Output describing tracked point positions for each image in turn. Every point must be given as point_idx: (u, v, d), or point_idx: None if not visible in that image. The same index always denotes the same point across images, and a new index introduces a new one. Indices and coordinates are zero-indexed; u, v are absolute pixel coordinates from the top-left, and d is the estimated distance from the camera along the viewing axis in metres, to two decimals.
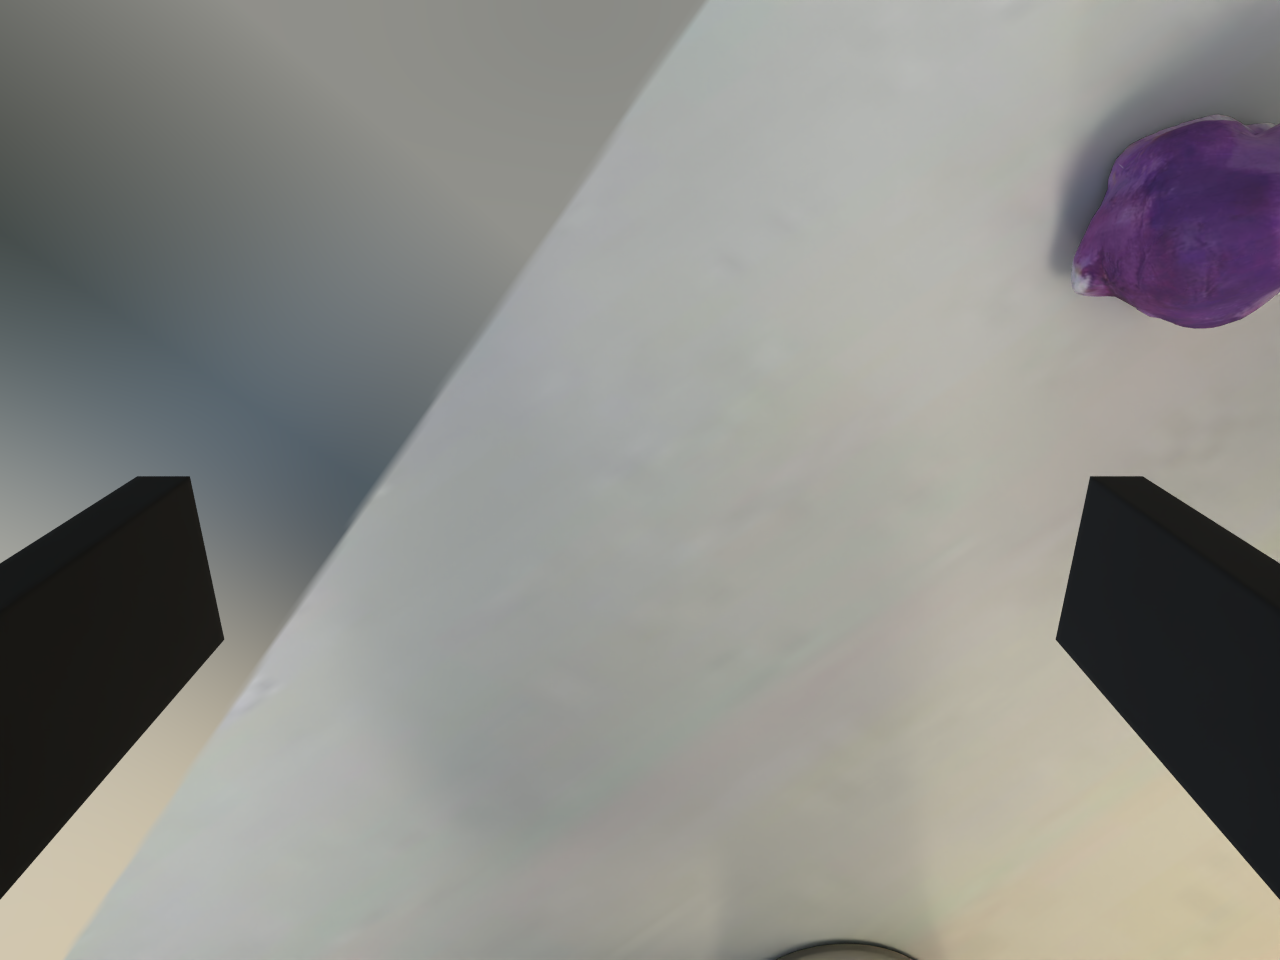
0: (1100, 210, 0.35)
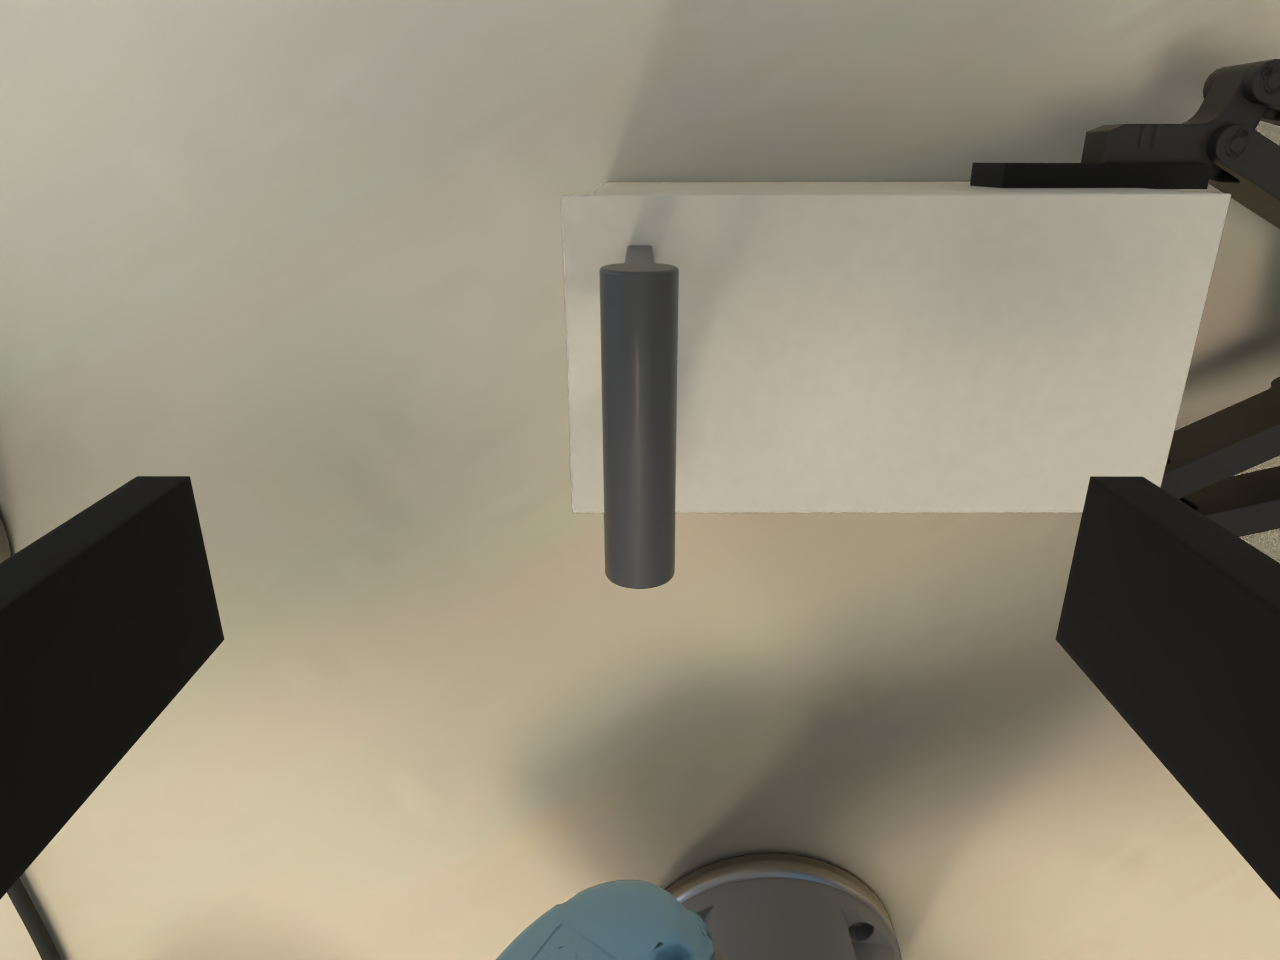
0: None
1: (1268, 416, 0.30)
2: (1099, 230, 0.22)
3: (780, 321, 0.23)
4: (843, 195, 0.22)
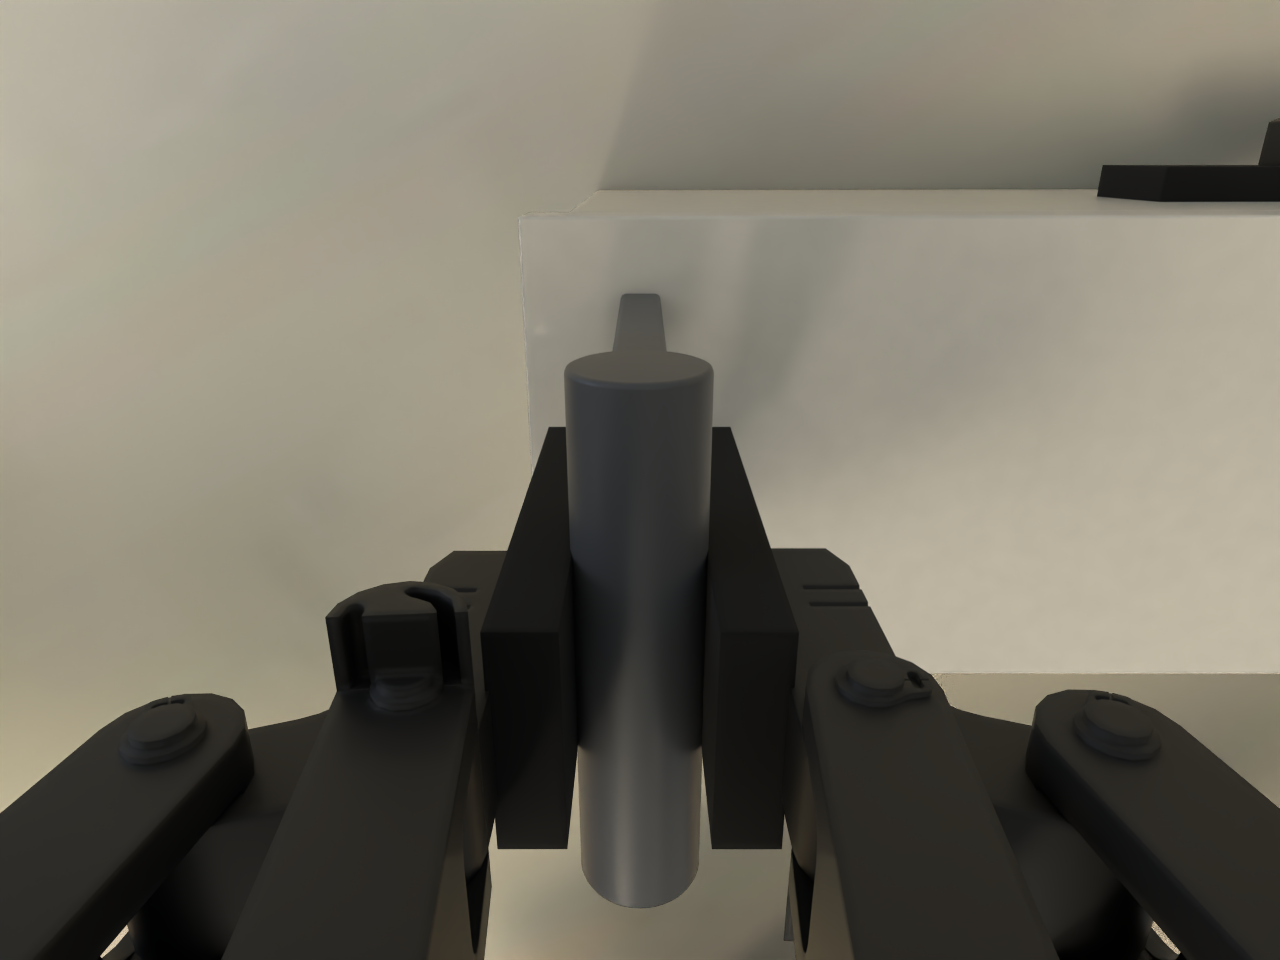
0: None
1: None
2: None
3: (853, 406, 0.15)
4: (957, 217, 0.14)
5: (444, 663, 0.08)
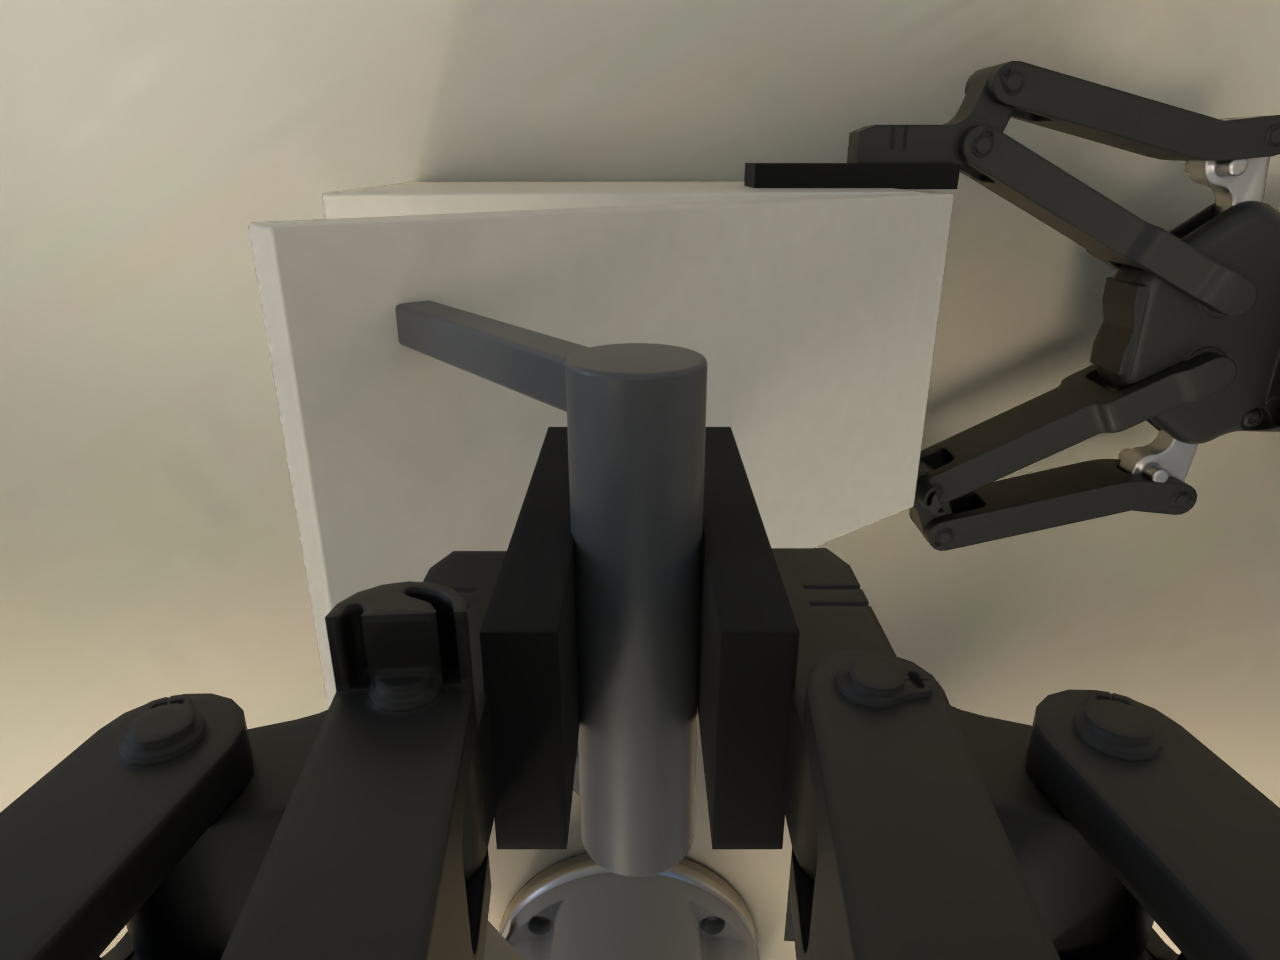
0: None
1: (1047, 414, 0.30)
2: (874, 236, 0.21)
3: None
4: (660, 209, 0.17)
5: (444, 663, 0.08)
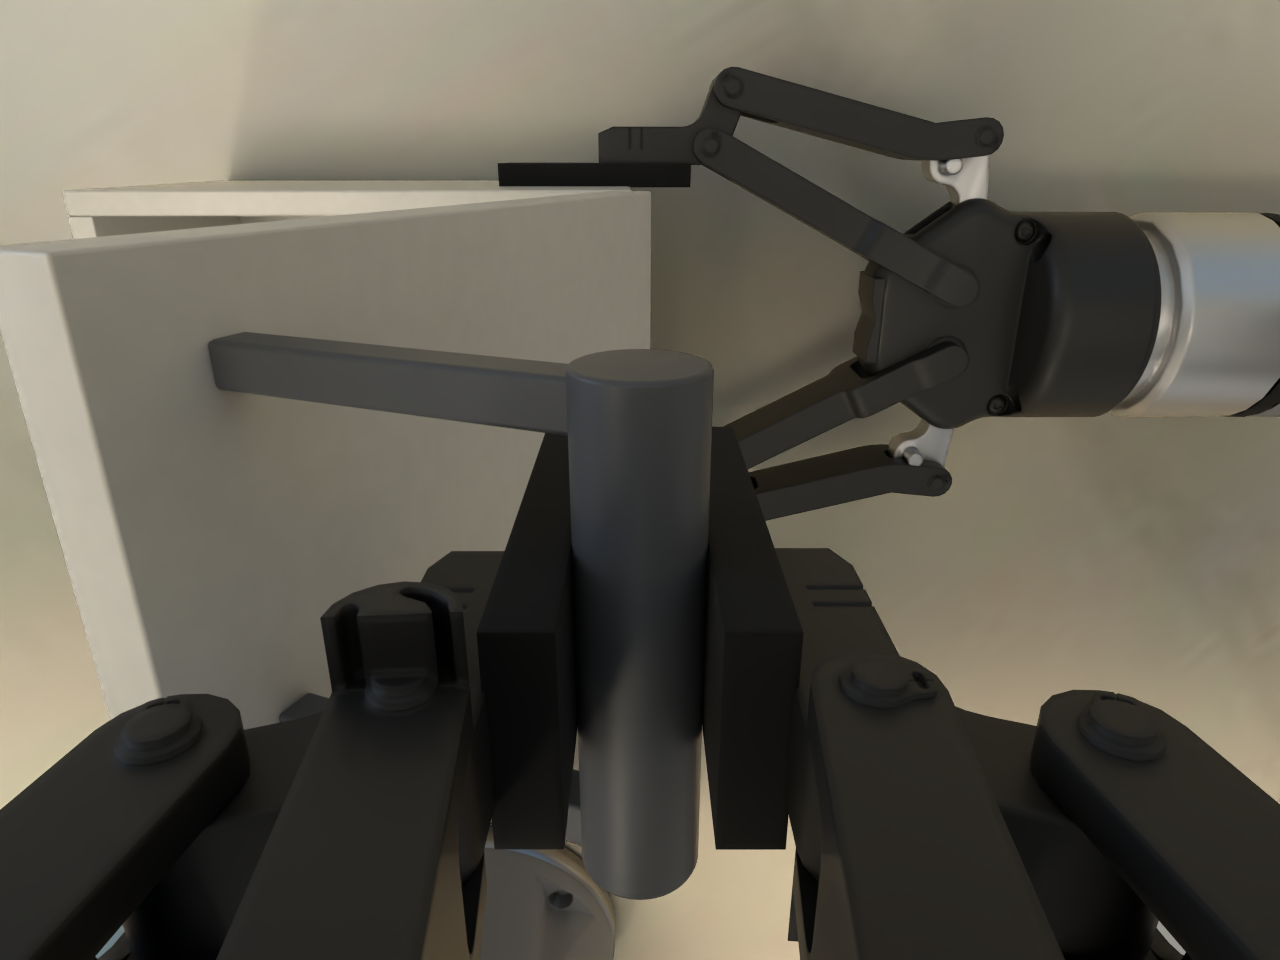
0: None
1: (806, 401, 0.32)
2: (604, 233, 0.22)
3: None
4: (446, 213, 0.16)
5: (440, 663, 0.08)
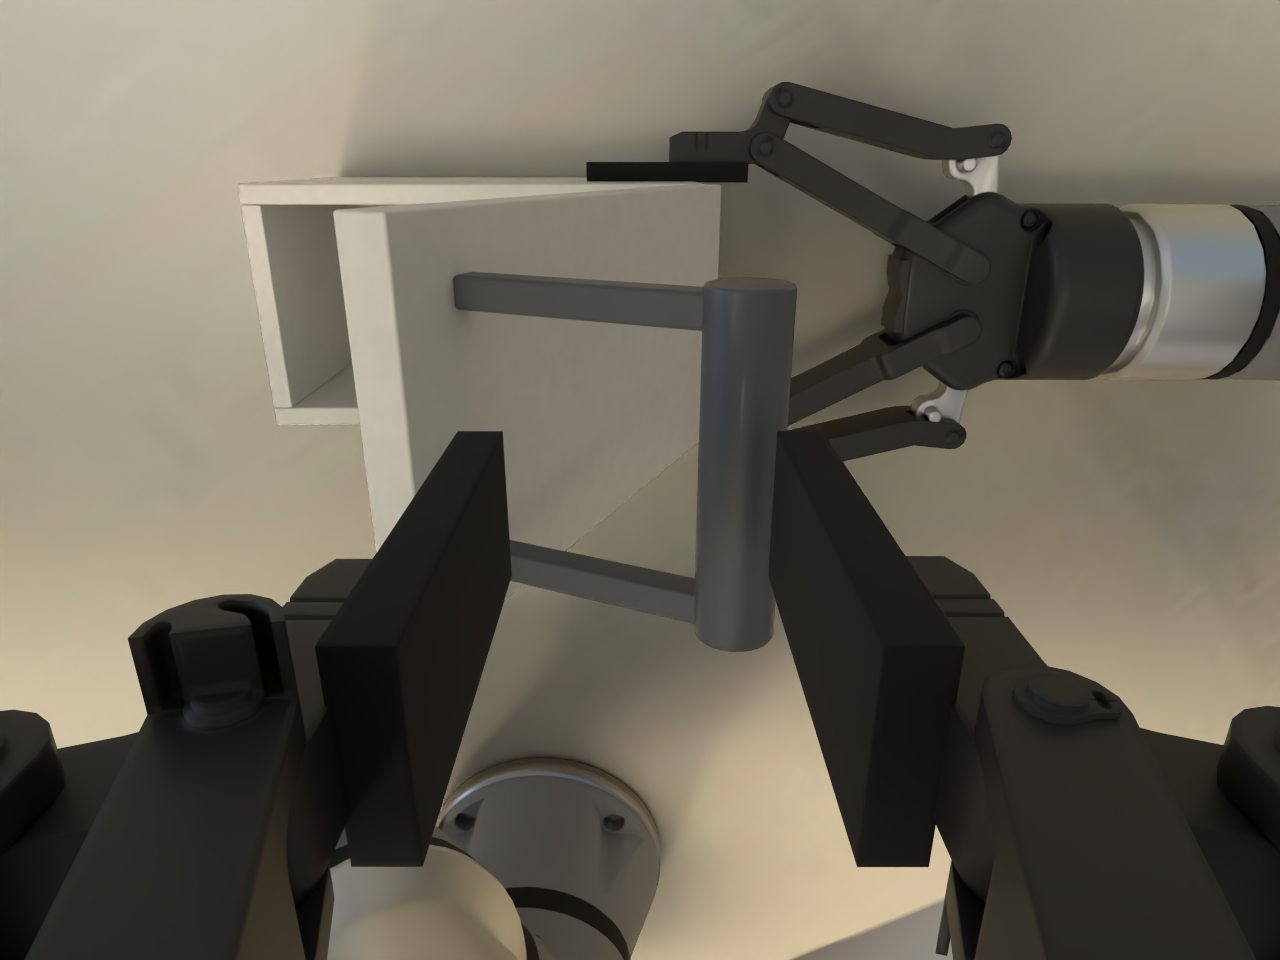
0: None
1: (842, 365, 0.37)
2: (686, 217, 0.27)
3: (561, 339, 0.21)
4: (584, 196, 0.21)
5: (268, 675, 0.08)
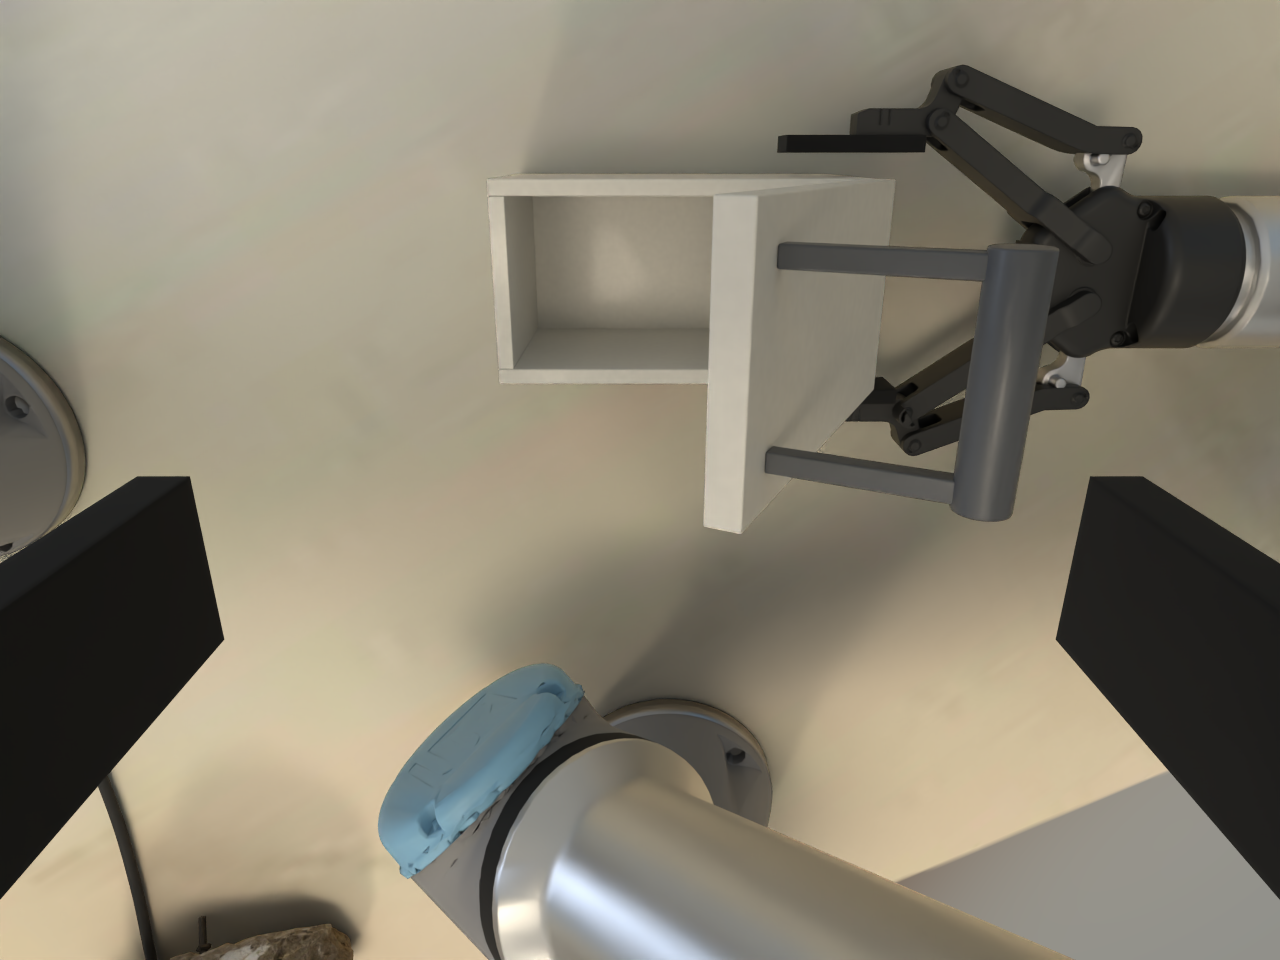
0: None
1: None
2: (877, 206, 0.33)
3: (814, 298, 0.27)
4: (833, 187, 0.27)
5: None
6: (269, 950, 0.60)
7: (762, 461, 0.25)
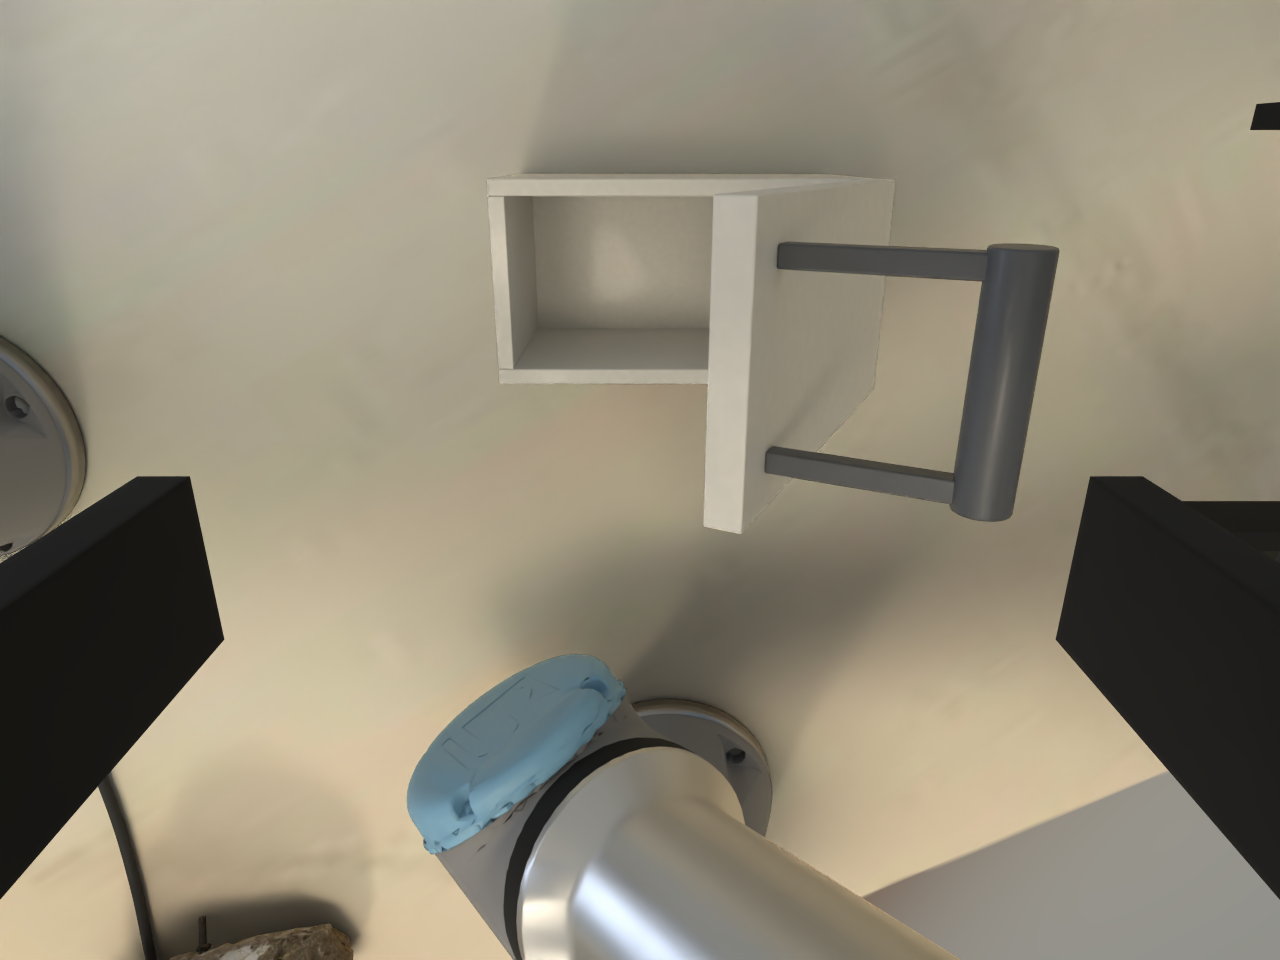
0: None
1: None
2: (877, 206, 0.33)
3: (814, 298, 0.27)
4: (833, 187, 0.27)
5: None
6: (269, 950, 0.60)
7: (762, 461, 0.25)
